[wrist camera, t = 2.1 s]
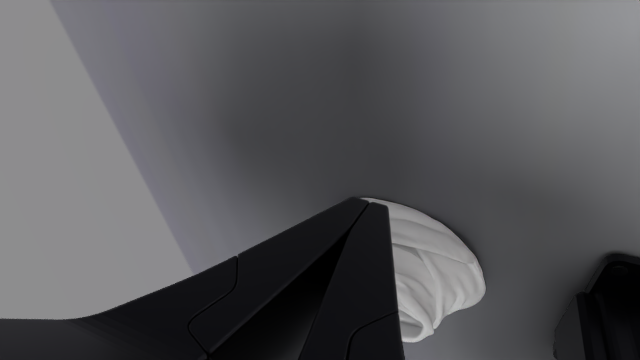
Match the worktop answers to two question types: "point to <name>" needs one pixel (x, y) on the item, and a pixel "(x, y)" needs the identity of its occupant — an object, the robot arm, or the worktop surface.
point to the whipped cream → (429, 271)
